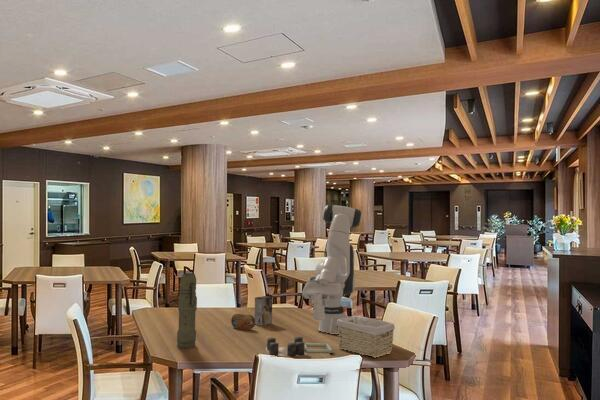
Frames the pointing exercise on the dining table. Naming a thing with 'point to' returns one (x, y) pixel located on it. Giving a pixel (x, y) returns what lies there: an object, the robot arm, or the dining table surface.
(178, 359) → the dining table surface
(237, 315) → the tin
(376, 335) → the storage basket
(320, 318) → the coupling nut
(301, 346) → the spacer board
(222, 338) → the dining table surface
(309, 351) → the tray
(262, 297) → the coffee box
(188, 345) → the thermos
